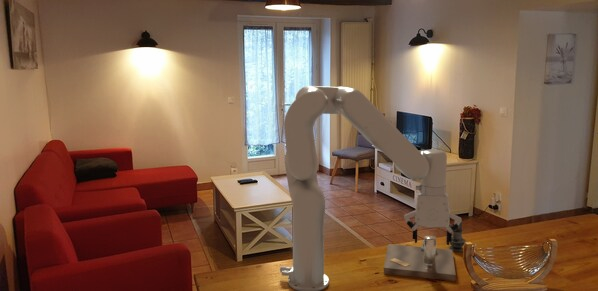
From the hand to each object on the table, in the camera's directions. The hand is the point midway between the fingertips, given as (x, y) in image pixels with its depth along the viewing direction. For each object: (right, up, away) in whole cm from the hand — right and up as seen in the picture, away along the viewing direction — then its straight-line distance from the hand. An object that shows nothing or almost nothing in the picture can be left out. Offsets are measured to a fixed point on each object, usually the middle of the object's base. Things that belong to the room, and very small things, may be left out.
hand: (431, 242), depth 149 cm
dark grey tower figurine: (+15, -7, +22) cm, 28 cm away
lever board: (-1, -9, +10) cm, 14 cm away
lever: (+2, -6, +9) cm, 11 cm away
